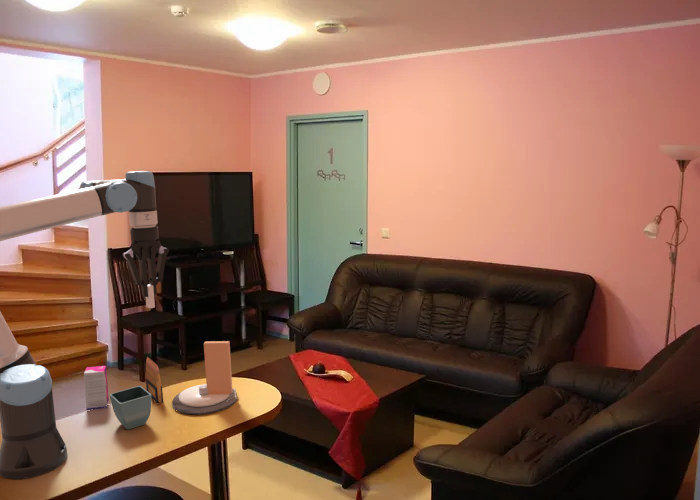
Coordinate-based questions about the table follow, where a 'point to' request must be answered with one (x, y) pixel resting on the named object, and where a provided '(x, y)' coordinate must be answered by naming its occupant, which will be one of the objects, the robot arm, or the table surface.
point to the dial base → (204, 410)
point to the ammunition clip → (153, 381)
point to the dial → (212, 377)
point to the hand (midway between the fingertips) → (150, 307)
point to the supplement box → (96, 387)
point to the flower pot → (132, 406)
